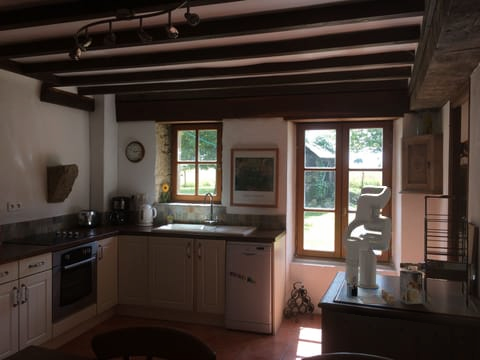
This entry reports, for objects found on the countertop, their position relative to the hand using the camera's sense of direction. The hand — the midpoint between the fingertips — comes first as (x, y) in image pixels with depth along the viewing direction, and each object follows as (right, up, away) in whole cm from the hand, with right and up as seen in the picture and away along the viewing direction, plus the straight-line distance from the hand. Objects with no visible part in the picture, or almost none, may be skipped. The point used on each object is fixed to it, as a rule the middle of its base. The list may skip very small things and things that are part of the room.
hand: (351, 293), depth 205 cm
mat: (+9, -2, -6) cm, 11 cm away
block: (0, -2, 0) cm, 2 cm away
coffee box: (+28, -2, -8) cm, 30 cm away
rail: (+17, -2, -6) cm, 18 cm away
